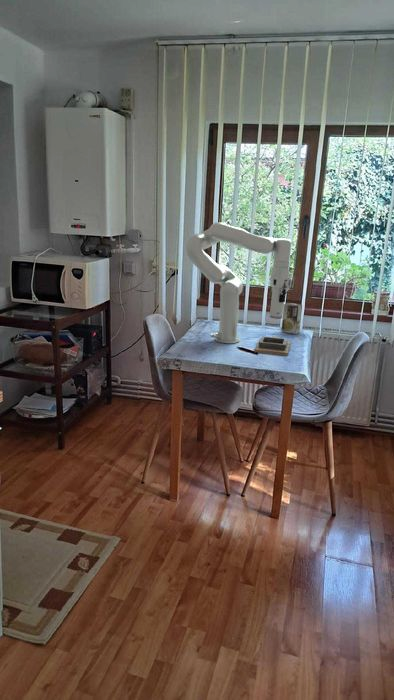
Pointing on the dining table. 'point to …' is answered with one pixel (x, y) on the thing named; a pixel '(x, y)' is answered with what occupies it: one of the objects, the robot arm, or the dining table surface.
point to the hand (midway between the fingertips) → (277, 300)
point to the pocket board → (273, 345)
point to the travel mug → (276, 303)
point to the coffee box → (291, 318)
